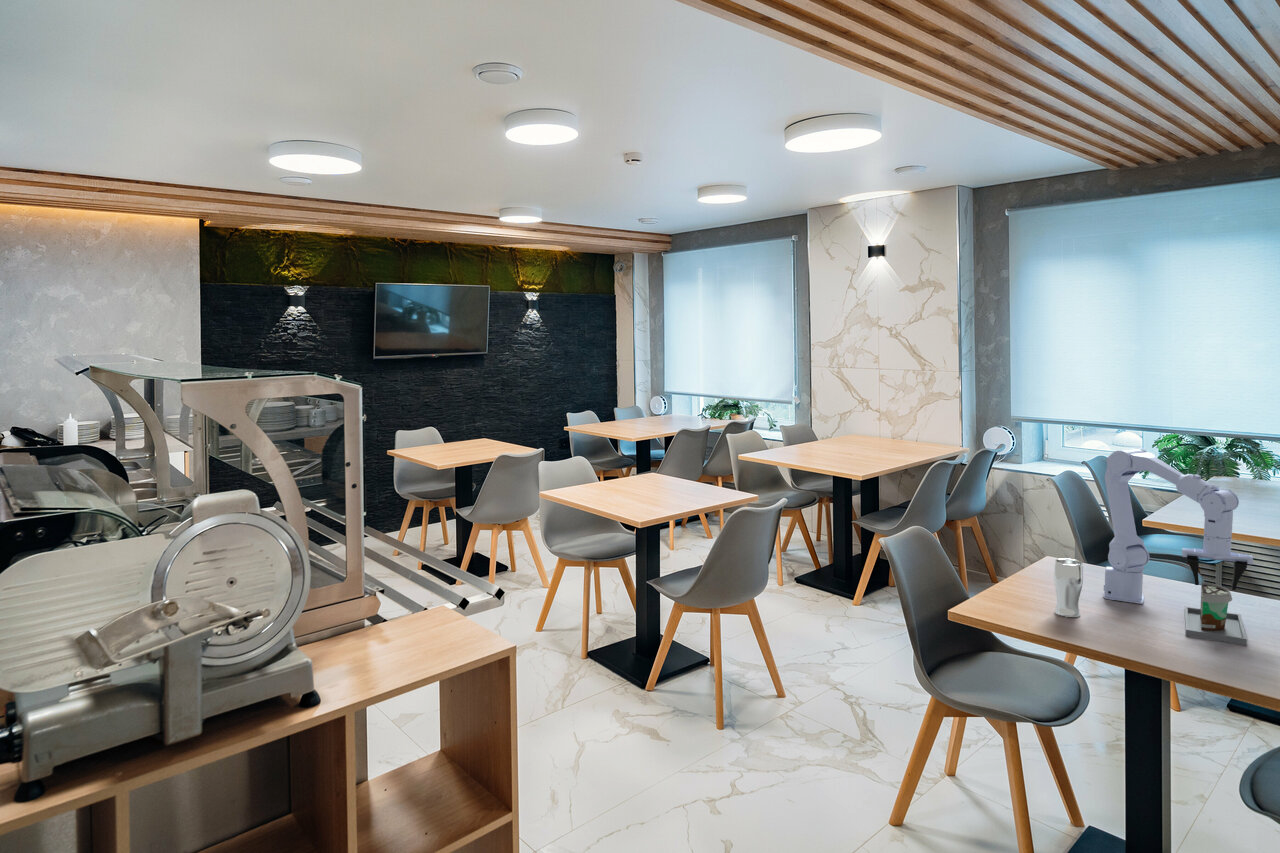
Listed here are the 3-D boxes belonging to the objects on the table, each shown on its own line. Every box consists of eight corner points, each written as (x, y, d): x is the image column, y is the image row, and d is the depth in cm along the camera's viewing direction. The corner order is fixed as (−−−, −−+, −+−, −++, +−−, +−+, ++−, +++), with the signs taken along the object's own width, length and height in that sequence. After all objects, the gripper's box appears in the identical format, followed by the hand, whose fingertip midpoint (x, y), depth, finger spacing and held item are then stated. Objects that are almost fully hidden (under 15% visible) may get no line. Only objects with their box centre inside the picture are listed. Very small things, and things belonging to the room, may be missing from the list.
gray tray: (1185, 635, 187) (1186, 629, 187) (1184, 612, 203) (1184, 606, 203) (1246, 645, 180) (1246, 639, 180) (1240, 620, 196) (1240, 614, 196)
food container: (1232, 636, 185) (1234, 598, 184) (1201, 631, 188) (1203, 594, 187) (1228, 621, 194) (1230, 584, 193) (1199, 617, 198) (1201, 581, 197)
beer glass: (1080, 611, 206) (1081, 559, 204) (1083, 619, 199) (1085, 566, 198) (1051, 608, 209) (1053, 557, 207) (1054, 616, 202) (1055, 563, 201)
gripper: (1183, 535, 192) (1180, 586, 194) (1255, 543, 184) (1252, 595, 185) (1183, 530, 198) (1180, 579, 199) (1252, 536, 189) (1249, 587, 191)
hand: (1214, 586), depth 193 cm, fingers open, 7 cm apart
